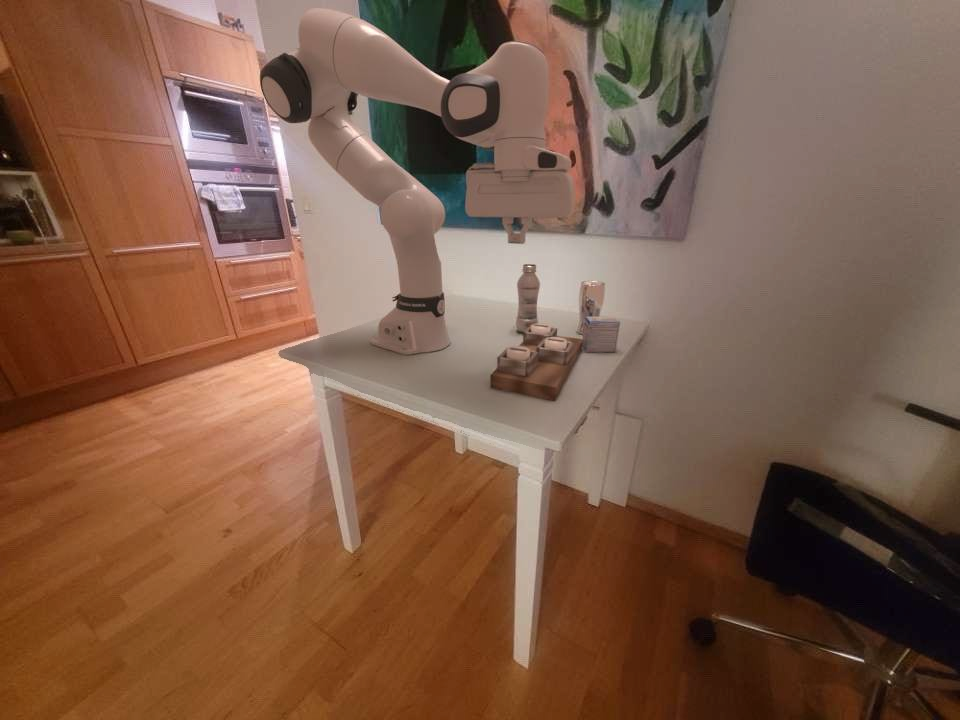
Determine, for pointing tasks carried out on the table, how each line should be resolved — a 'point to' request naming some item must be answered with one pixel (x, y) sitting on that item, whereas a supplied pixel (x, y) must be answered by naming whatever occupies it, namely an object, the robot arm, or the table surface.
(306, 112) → the robot arm
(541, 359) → the knob mount
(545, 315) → the table surface
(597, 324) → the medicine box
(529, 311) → the plastic bottle
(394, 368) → the table surface
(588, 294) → the beer glass
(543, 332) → the knob
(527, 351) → the knob
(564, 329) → the table surface
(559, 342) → the knob
